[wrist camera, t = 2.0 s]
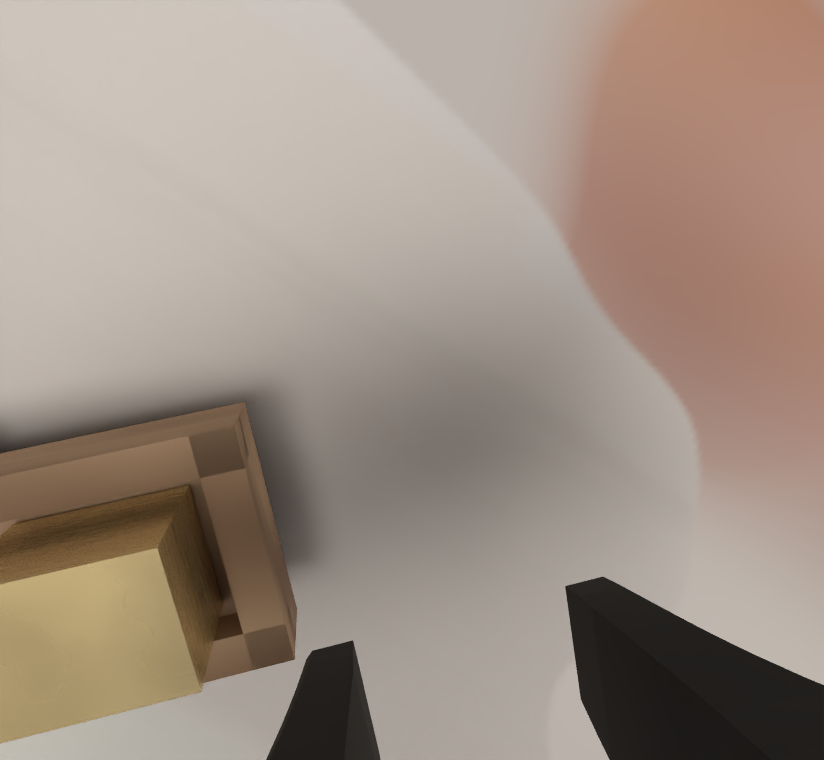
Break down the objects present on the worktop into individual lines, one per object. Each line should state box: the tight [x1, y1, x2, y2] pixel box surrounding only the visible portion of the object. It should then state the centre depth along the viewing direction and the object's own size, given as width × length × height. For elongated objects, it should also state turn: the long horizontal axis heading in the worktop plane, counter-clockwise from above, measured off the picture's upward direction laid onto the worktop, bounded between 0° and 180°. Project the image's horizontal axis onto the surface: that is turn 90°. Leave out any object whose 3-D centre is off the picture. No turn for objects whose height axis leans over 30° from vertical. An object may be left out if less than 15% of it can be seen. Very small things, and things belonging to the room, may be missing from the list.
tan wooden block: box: [0, 485, 223, 743], centre depth 14 cm, size 3×4×3 cm
